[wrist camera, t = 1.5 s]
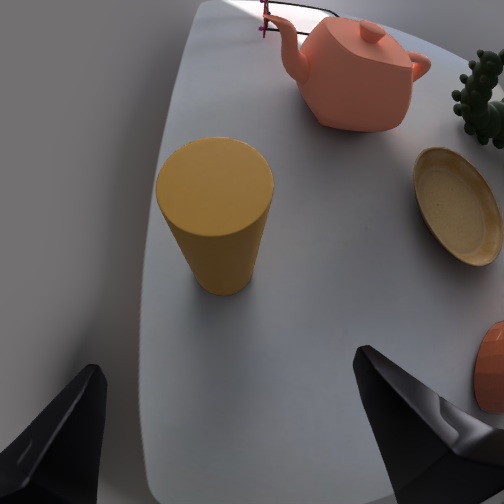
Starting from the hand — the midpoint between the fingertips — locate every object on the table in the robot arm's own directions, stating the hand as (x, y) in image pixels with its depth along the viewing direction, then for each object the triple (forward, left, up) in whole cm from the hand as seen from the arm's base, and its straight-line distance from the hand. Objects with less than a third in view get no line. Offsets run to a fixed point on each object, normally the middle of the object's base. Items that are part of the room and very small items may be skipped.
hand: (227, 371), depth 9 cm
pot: (+3, -30, -13) cm, 33 cm away
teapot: (+30, -4, -13) cm, 33 cm away
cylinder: (+7, +3, -13) cm, 15 cm away
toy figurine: (+40, -32, -13) cm, 53 cm away
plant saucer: (+20, -20, -13) cm, 31 cm away
